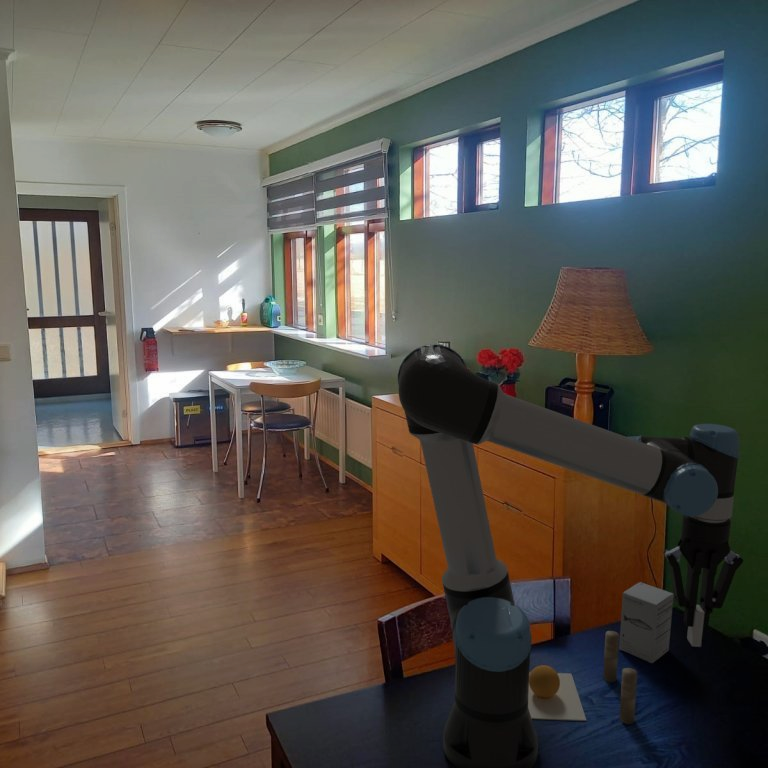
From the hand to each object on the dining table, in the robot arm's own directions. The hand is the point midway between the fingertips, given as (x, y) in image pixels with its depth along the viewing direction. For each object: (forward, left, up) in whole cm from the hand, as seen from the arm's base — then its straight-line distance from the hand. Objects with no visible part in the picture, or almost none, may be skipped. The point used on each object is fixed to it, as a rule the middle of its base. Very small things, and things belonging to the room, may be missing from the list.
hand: (693, 642), depth 130 cm
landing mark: (-27, 0, -11) cm, 29 cm away
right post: (-13, -6, -11) cm, 18 cm away
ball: (-26, 0, -9) cm, 27 cm away
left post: (-13, +6, -11) cm, 18 cm away
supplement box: (-3, +17, -12) cm, 20 cm away
